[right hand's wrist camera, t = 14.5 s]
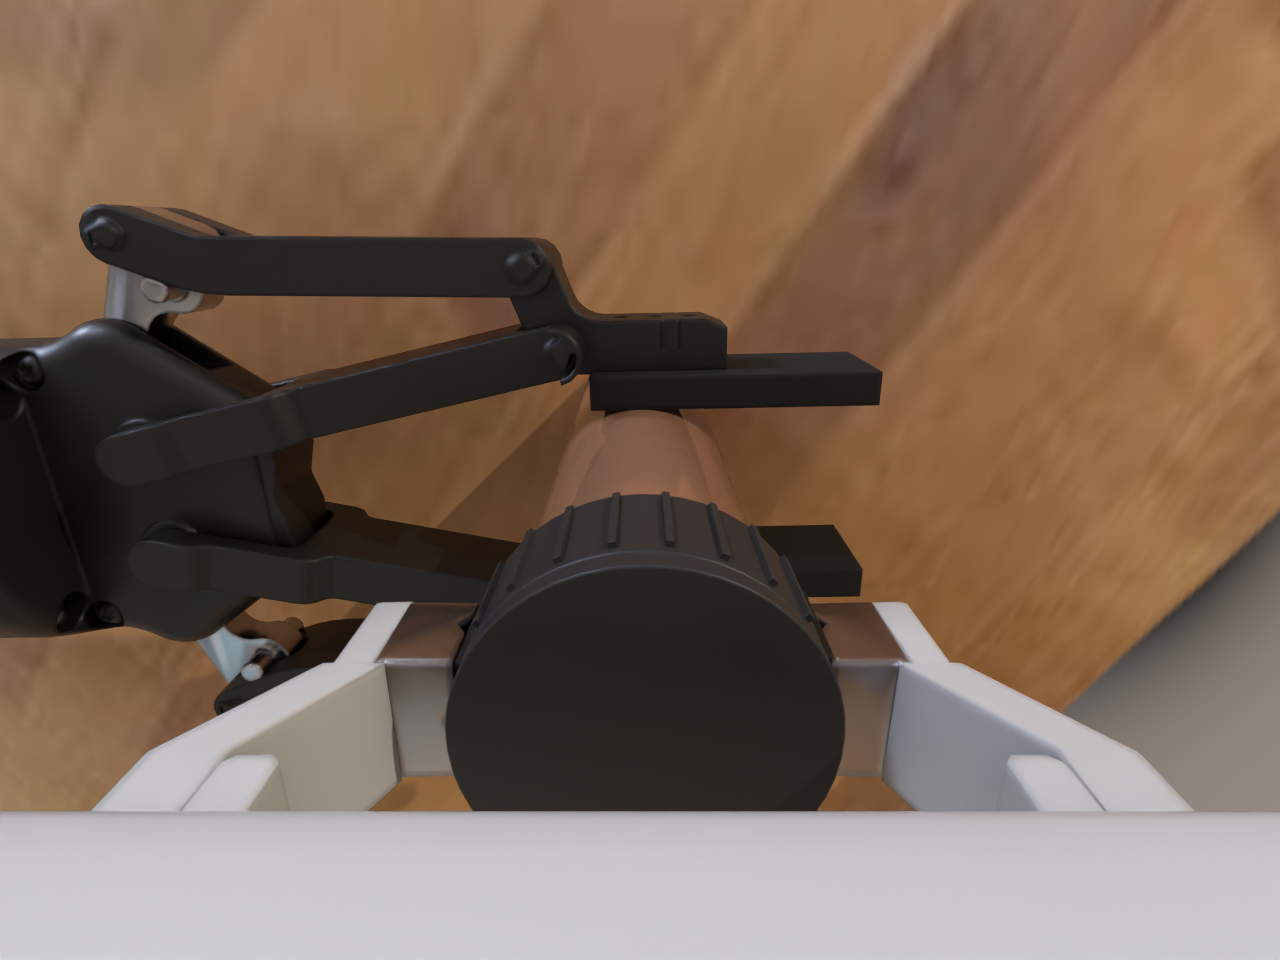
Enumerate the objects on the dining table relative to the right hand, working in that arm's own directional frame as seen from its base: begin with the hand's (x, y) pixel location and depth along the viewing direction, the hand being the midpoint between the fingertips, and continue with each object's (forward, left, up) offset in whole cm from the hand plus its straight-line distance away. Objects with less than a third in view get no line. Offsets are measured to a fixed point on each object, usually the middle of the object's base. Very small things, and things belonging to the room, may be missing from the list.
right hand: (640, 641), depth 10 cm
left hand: (+3, +5, -7) cm, 9 cm away
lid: (0, 0, +2) cm, 2 cm away
